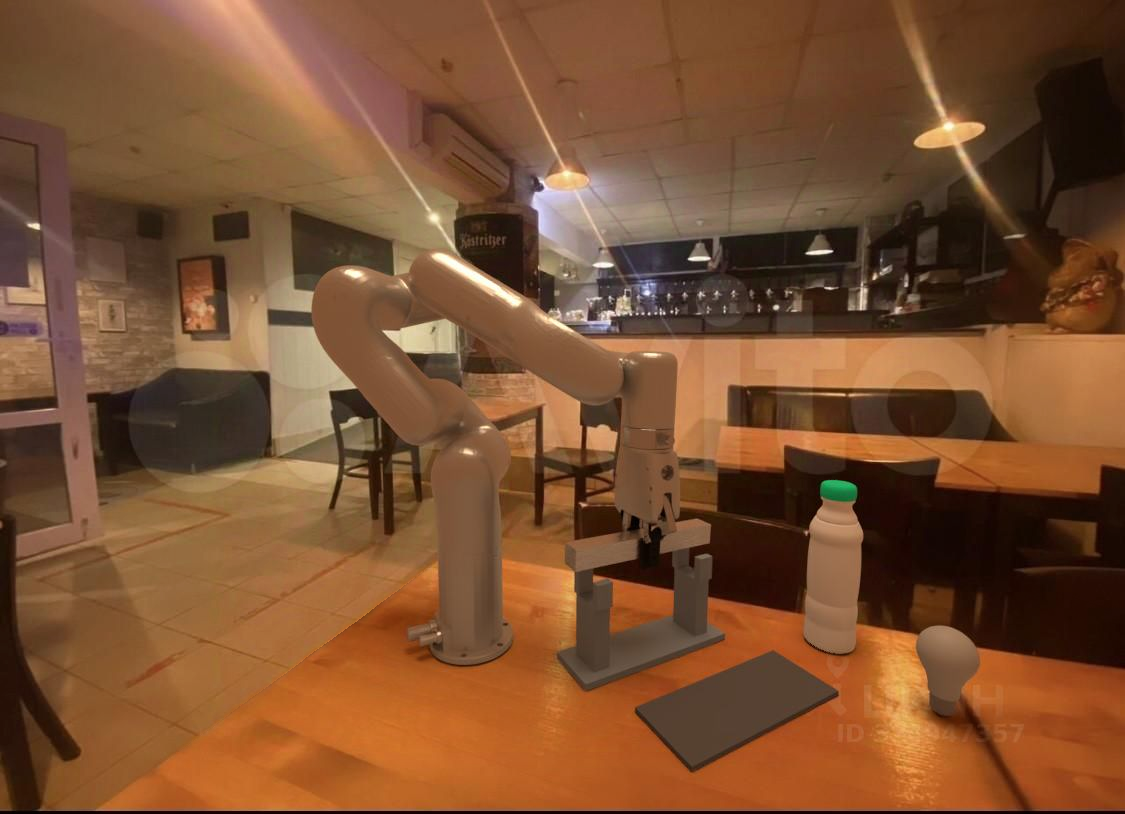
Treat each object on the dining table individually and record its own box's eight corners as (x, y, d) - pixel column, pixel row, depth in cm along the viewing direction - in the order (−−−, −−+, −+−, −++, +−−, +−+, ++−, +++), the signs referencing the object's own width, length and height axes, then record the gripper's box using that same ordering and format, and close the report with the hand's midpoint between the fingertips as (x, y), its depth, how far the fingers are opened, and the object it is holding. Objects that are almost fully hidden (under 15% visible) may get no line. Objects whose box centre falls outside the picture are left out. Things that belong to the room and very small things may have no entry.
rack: (585, 691, 65) (586, 593, 63) (557, 658, 72) (557, 568, 70) (724, 639, 76) (728, 555, 75) (688, 615, 83) (691, 538, 82)
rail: (575, 572, 65) (576, 550, 65) (564, 563, 68) (565, 542, 68) (709, 543, 77) (710, 524, 76) (696, 536, 79) (697, 518, 79)
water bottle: (842, 630, 79) (852, 477, 76) (864, 657, 72) (876, 489, 69) (796, 628, 80) (804, 476, 77) (813, 654, 73) (823, 488, 70)
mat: (691, 772, 52) (691, 766, 52) (634, 711, 61) (635, 707, 61) (838, 695, 64) (838, 690, 64) (773, 653, 73) (773, 650, 73)
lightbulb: (960, 703, 63) (968, 620, 61) (983, 738, 57) (992, 648, 56) (904, 692, 65) (910, 612, 63) (920, 725, 59) (928, 638, 58)
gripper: (708, 447, 65) (700, 580, 67) (633, 428, 79) (629, 538, 81) (663, 451, 62) (656, 591, 64) (594, 430, 76) (590, 546, 78)
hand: (641, 560), depth 73 cm, fingers closed on rail, 3 cm apart
